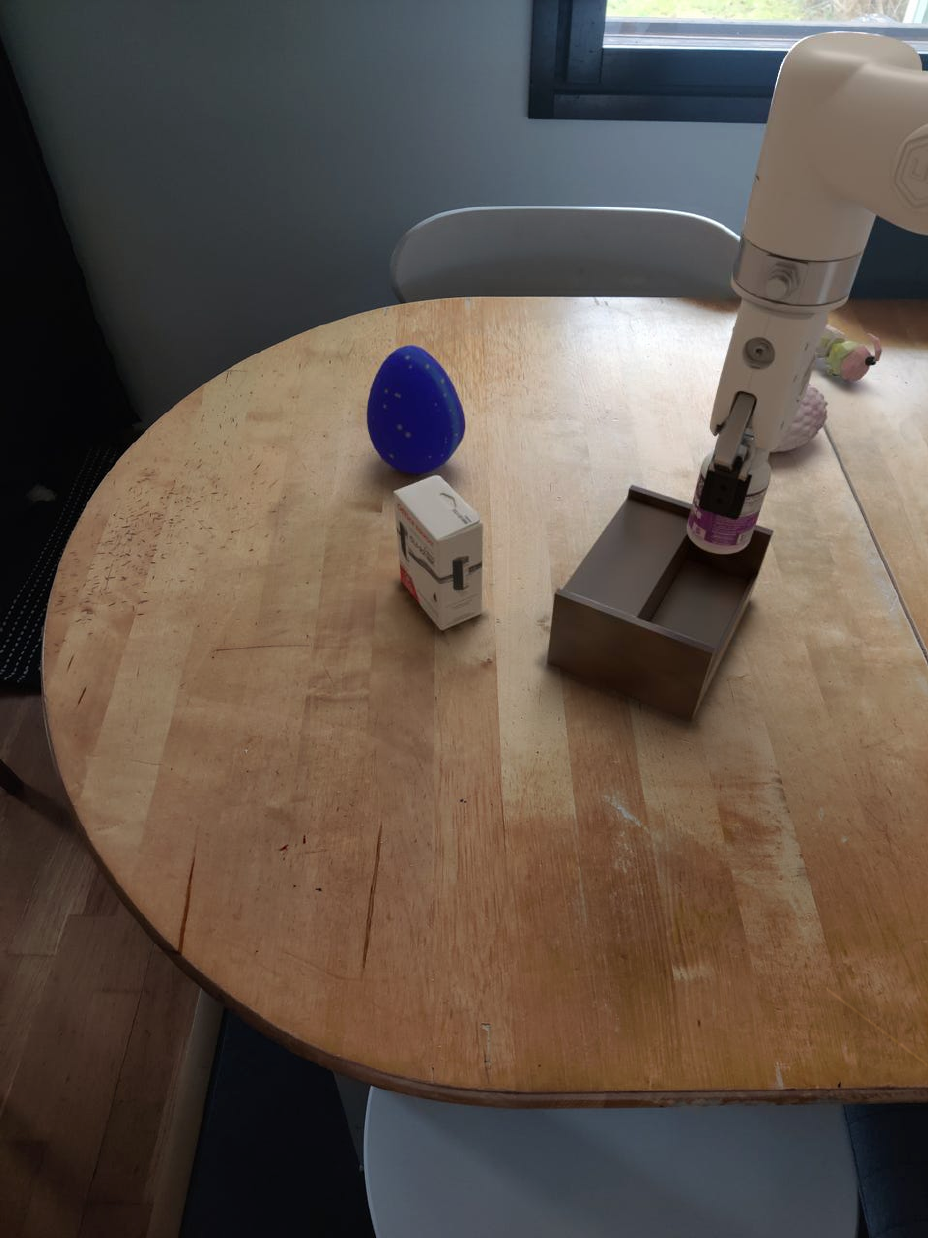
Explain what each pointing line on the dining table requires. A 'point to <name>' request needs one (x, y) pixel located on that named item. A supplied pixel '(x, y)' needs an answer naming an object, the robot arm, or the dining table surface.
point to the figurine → (847, 354)
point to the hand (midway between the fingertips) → (731, 489)
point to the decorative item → (805, 421)
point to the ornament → (414, 412)
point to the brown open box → (653, 605)
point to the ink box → (440, 550)
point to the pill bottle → (720, 530)
